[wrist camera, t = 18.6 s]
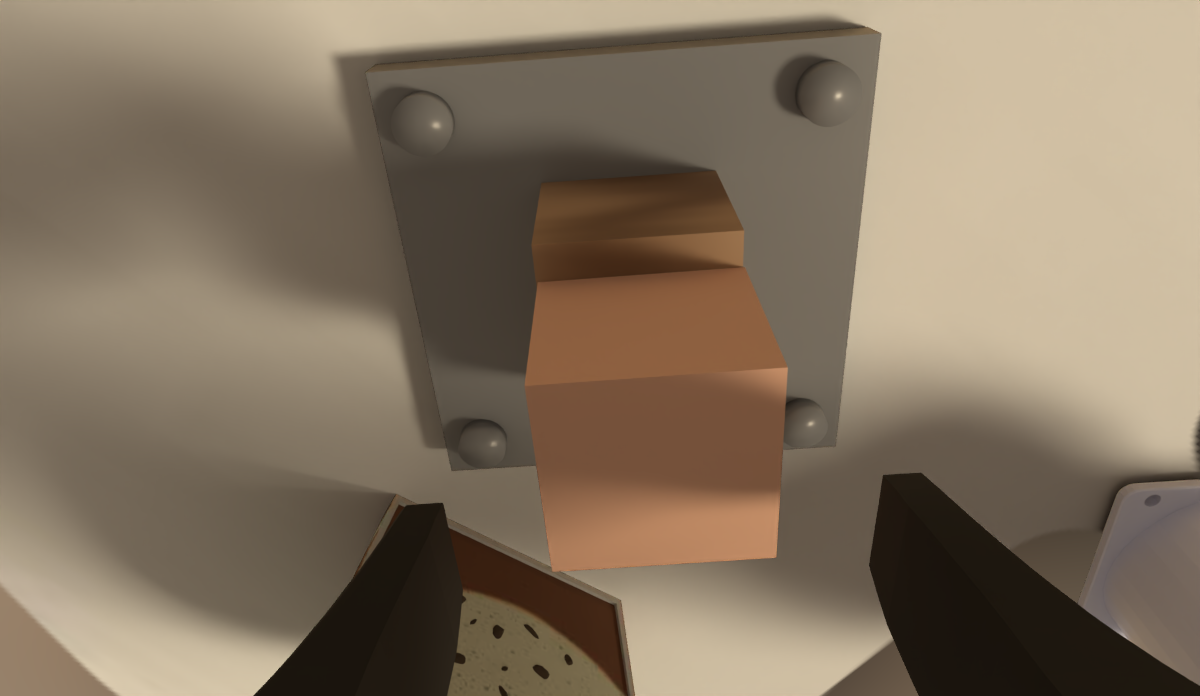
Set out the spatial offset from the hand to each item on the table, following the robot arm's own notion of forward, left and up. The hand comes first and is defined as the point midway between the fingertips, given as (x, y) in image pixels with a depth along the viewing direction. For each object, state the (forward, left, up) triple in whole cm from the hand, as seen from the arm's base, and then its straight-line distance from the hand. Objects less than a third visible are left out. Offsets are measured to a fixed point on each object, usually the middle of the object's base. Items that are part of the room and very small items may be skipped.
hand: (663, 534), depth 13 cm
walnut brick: (0, 0, -9) cm, 9 cm away
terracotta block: (0, 0, -5) cm, 5 cm away
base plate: (0, 0, -10) cm, 10 cm away
